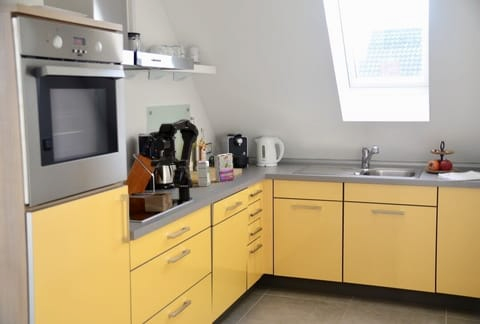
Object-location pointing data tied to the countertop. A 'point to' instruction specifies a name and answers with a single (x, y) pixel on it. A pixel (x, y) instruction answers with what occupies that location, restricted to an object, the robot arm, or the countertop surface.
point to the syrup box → (203, 173)
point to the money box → (158, 202)
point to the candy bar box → (224, 167)
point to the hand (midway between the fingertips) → (170, 180)
